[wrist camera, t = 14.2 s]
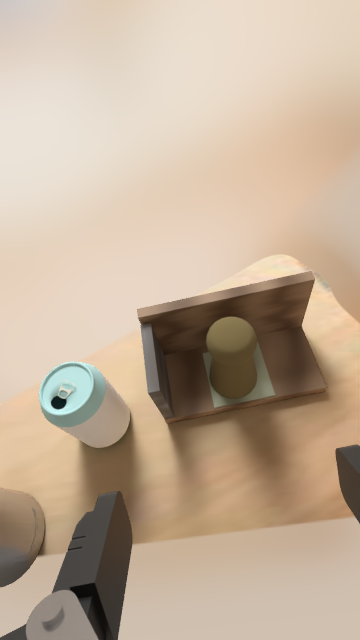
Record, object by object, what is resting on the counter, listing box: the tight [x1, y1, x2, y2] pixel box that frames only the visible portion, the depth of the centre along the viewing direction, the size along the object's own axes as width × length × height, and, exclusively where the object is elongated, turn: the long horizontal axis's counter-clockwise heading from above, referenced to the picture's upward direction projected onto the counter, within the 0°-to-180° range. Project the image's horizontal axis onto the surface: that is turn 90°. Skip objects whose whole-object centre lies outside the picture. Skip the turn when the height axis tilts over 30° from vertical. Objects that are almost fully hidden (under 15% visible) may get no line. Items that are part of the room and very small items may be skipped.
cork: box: [206, 317, 257, 399], centre depth 39 cm, size 6×6×11 cm
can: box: [39, 362, 130, 448], centre depth 39 cm, size 7×7×12 cm
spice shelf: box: [137, 271, 327, 424], centre depth 41 cm, size 20×10×12 cm, turn 99°
